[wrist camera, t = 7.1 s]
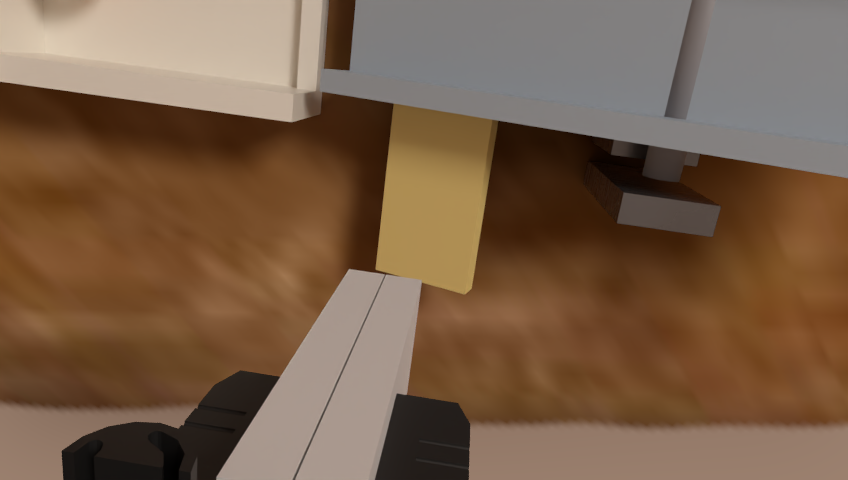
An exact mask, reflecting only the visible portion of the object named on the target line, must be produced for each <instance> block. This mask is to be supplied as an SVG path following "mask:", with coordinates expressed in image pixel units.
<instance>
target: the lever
mask: <svg viewBox="0 0 848 480" xmlns="http://www.w3.org/2000/svg"><path fill="white" fill-rule="evenodd" d="M320 91H321V92H327V93H333V94H339V95H345V96H352V97H358V98H364V99H370V100H376V101H382V102H388V103H394V105H393V114H392V123H391V133H390V142H389V151H388V160H387V169H386V178H385V188H384V197H383V206H382V215H381V224H380V234H379V243H378V252H377V261H376V270H379V271H382V272H386V273H390V274H393V275H397V276H400V277H406V278H412V279H419V280H422V283H425V284H429V285H433V286H436V287H440V288H443V289H447V290H451V291H454V292H458V293H461V294H466V293H467V292H468V291H469V290H471V289H472V283H473V277H474V271H475V264H476V258H477V252H478V246H479V239H480V233H481V227H482V221H483V214H484V208H485V202H486V196H487V189H488V183H489V177H490V171H491V164H492V158H493V152H494V146H495V140H496V133H497V127H498V121H504V122H510V123H516V124H522V125H528V126H534V127H541V128H547V129H553V130H559V131H565V132H571V133H577V134H583V135H589V136H595V137H602V138H608V139H614V140H620V141H626V142H632V143H638V144H644V145H649V147H648V151H647V156H646V160H645V164H644V168H643V173H642V175H643V176H645V177H649V178H652V179H657V180H662V181H670V182H679V181H680V178H681V174H682V170H683V166H684V162H685V158H686V154H687V152H693V153H699V154H705V155H711V156H717V157H724V158H730V159H736V160H742V161H748V162H754V163H760V164H766V165H772V166H778V167H784V168H791V169H797V170H803V171H809V172H815V173H821V174H827V175H833V176H839V177H845V178H848V0H356V4H355V15H354V27H353V38H352V50H351V61H350V71H348V70H335V69H321V78H320Z"/></svg>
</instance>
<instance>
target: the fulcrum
mask: <svg viewBox="0 0 848 480" xmlns="http://www.w3.org/2000/svg"><path fill="white" fill-rule="evenodd" d="M592 142H593V143H594V144H596V145H597V146H599V147H600V148H602V149H603V150H605V151H606V152H608V153H609V154H611V155H616V156H624V157H631V158H638V159H645V160H646V156H647V151H648V147H649V145H644V144H638V143H632V142H626V141H620V140H614V139H608V138H602V137H595V136H593V140H592ZM699 156H700V154H699V153H693V152H687V154H686V158H685V162H684V165H689V166H696V167H697V164H698V160H699ZM642 173H643V168H635V167H628V166H621V165H614V164H607V163H599V162H592V161H588V164H587V169H586V174H585V178H584V183H583V184H584V186H585V187H586V188H587V189H588V190H589V191H590V193H591V194H592V195H593V196H594V197H595V198H596V200H597V201H598V202H599V203H600V204H601V205H602V207H603V208H604V209H605V210H606V211H607V212H608V214H609V215H610V216H611V217H612V218H613V219H614V220H615V222H616V223H619V224H626V225H633V226H640V227H647V228H654V229H661V230H667V231H674V232H681V233H688V234H695V235H702V236H709V237H713V234H714V230H715V226H716V223H717V219H718V216H719V212H720V208H721V206H720V205H718V204H716V203H714V202H713V201H711V200H709V199H708V198H706V197H704V196H702V195H701V194H699V193H697V192H696V191H694V190H692V189H690V188H689V187H687V186H685V185H684V184H682V183H680V182H670V181H662V180H657V179H652V178H649V177H645V176H643V175H642Z"/></svg>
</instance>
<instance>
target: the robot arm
mask: <svg viewBox="0 0 848 480" xmlns="http://www.w3.org/2000/svg"><path fill="white" fill-rule="evenodd" d="M384 277H385V278H384ZM421 284H422V280H419V279H412V278H406V277H399V276H392V275H386V276H385V274H379V273H372V272H366V271H359V270H352V269H349V270H348V272H347V273H346V275H345V276H344V278H343V279H342V281H341V283H340V284H339V286H338V287H337V289H336V290H335V292H334V294H333V295H332V297H331V298H330V300H329V301H328V303H327V305H326V306H325V308H324V309H323V311H322V312H321V314H320V315H319V317H318V319H317V320H316V322H315V323H314V325H313V326H312V328H311V330H310V331H309V333H308V334H307V336H306V337H305V339H304V341H303V342H302V344H301V345H300V347H299V348H298V350H297V352H296V353H295V355H294V356H293V358H292V359H291V361H290V363H289V364H288V366H287V367H286V369H285V370H284V372H283V374H282V375H281V377H278V376H272V375H265V374H259V373H253V372H247V371H239V372H237V373H235V374H233V375H232V376H230V377H228V378H226V379H224V380H223V381H221V382H219V383H217V384H215V385H214V386H213V388H212V389H211V390H210V391H209V392H208V394H207V395H206V396H205V397H204V398H203V400H202V401H201V402H200V403H199V405H198V408H197V409H196V408H195V409H194V411H193V412H192V413H191V414H190V415H189V417H188V418H187V419H186V420H185V424H184V426H183V425H181V426H180V428H179V429H177V428H174V427H171V426H168V425H165V424H161V423H147V422H132V423H127V424H120V425H115V426H109V427H106V428H103V429H101V430H98V431H96V432H93V433H90V434H88V435H85V436H83V437H81V438H80V439H78V440H77V441H76V442H74V443H72V444H71V445H70V446H68V447H67V448H65V449H64V450H62V463H63V479H64V480H468V479H469V470H468V469H469V447H470V423H469V421H468V420H467V418H466V416H465V414H464V413H463V411H462V409H461V408H460V406H459V404H458V403H454V402H447V401H441V400H435V399H429V398H422V397H416V396H410V395H407V389H408V381H409V374H410V366H411V359H412V351H413V344H414V336H415V329H416V321H417V314H418V306H419V299H420V291H421Z"/></svg>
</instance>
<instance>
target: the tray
mask: <svg viewBox="0 0 848 480" xmlns="http://www.w3.org/2000/svg"><path fill="white" fill-rule="evenodd" d="M328 7H329V0H0V82H6V83H13V84H21V85H28V86H35V87H42V88H49V89H56V90H64V91H71V92H78V93H85V94H92V95H99V96H107V97H114V98H121V99H128V100H135V101H142V102H149V103H157V104H164V105H171V106H178V107H185V108H192V109H200V110H207V111H214V112H221V113H228V114H235V115H243V116H250V117H257V118H264V119H271V120H278V121H286V122H295V121H298V120H302V119H305V118H309V117H312V116H316V115H319V114H321V101H322V92H321V91H320V78H321V69H324V61H325V48H326V34H327V21H328Z"/></svg>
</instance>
